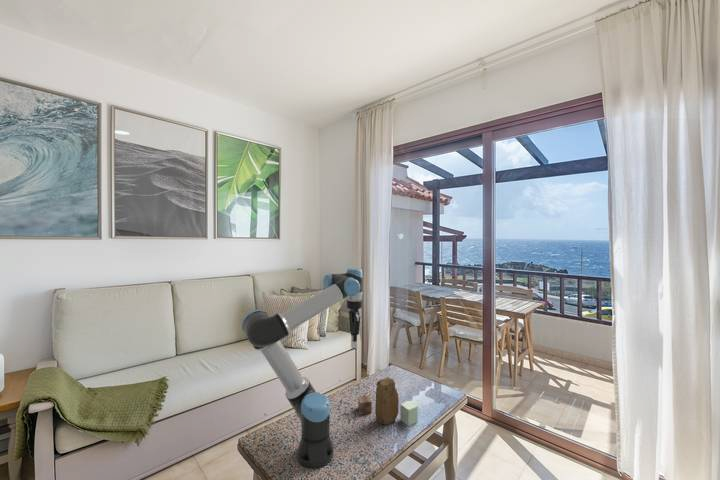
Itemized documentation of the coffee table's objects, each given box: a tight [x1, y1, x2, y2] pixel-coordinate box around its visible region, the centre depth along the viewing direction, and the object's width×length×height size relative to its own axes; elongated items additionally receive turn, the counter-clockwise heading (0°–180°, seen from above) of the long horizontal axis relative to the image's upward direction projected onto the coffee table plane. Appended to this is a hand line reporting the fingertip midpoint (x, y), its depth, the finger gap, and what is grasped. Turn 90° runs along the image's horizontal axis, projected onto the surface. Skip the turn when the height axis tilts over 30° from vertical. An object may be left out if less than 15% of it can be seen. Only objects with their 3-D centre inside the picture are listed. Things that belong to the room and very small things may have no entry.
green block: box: [399, 400, 419, 427], centre depth 150 cm, size 6×6×8 cm
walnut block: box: [357, 395, 373, 415], centre depth 159 cm, size 6×6×6 cm
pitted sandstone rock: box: [374, 377, 400, 425], centre depth 151 cm, size 11×8×20 cm
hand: (354, 347), depth 150 cm, fingers closed
